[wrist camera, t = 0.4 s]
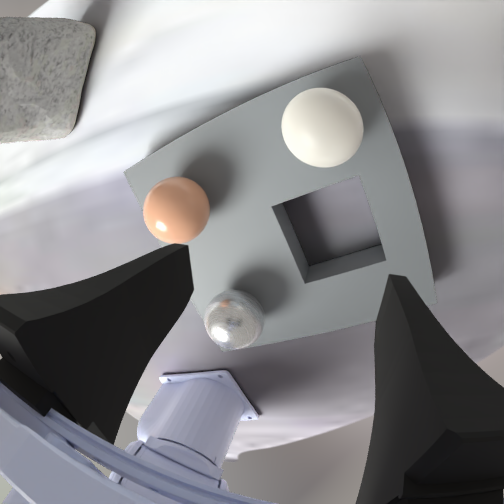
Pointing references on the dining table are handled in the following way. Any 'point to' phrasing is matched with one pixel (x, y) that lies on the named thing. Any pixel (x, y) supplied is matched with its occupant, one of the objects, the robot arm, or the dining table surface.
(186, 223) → the terracotta ball
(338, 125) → the cream ball
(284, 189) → the hole plate
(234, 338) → the steel ball
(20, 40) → the decorative stone
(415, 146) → the dining table surface
